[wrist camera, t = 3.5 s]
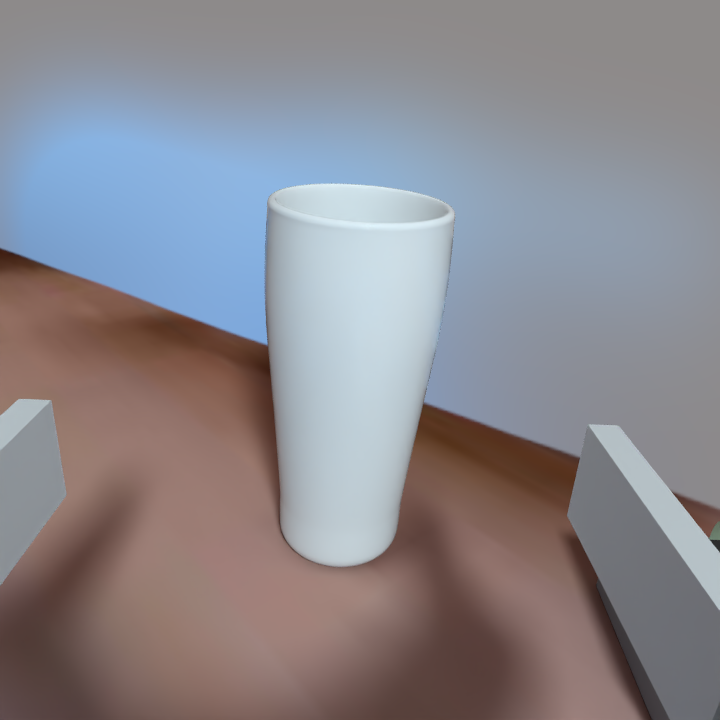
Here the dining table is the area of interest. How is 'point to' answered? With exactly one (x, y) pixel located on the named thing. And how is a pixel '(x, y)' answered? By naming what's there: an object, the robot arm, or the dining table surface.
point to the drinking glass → (350, 356)
